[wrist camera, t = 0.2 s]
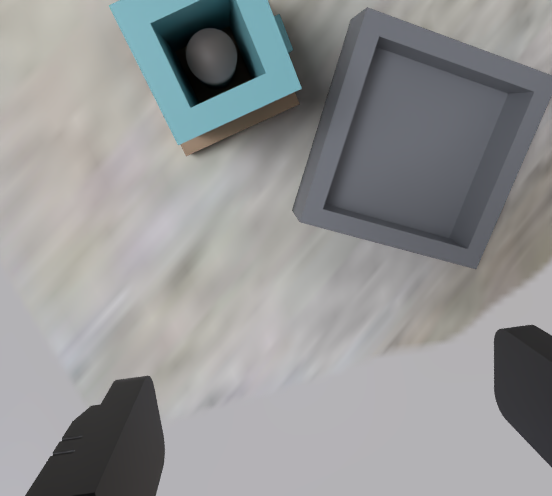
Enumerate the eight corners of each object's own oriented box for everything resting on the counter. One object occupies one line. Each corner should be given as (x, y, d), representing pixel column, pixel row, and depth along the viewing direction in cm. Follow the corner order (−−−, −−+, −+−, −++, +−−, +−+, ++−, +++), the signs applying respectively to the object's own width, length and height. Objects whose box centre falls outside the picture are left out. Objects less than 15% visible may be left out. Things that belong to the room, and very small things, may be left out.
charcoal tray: (350, 19, 29) (367, 7, 25) (523, 81, 31) (559, 78, 28) (292, 210, 32) (299, 222, 29) (452, 253, 34) (476, 269, 31)
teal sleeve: (147, 39, 26) (108, 5, 18) (262, -14, 26) (279, -75, 18) (193, 135, 28) (178, 145, 20) (300, 85, 28) (332, 74, 19)
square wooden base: (129, 34, 28) (91, 4, 20) (246, -21, 27) (253, -72, 20) (188, 154, 30) (174, 168, 22) (296, 104, 30) (319, 102, 22)
